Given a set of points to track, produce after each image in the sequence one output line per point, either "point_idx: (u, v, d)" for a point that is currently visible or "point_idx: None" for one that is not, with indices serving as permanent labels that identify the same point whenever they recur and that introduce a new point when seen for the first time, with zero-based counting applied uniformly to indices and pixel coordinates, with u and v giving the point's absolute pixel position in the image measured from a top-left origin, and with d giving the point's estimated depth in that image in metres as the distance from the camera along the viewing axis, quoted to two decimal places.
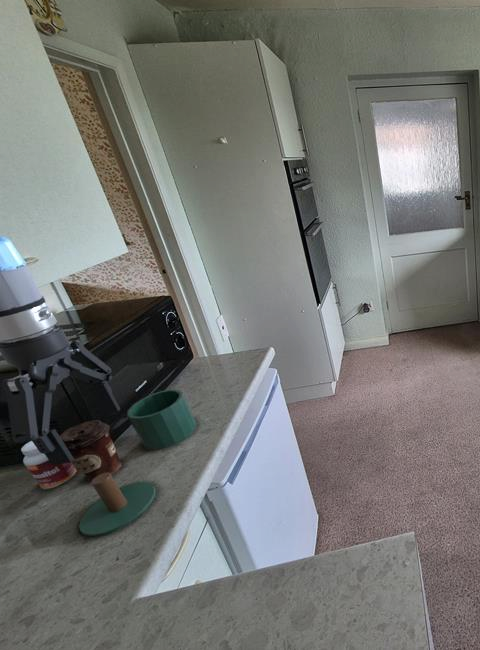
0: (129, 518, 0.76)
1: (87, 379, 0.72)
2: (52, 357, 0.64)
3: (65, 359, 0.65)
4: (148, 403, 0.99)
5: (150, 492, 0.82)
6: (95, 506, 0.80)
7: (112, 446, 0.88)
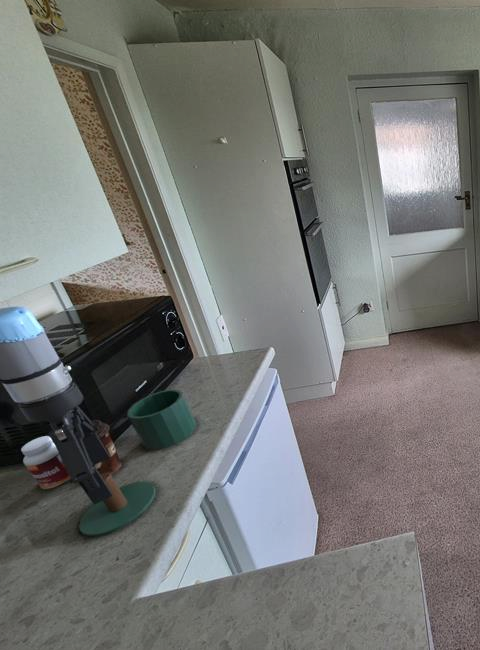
0: (129, 518, 0.76)
1: None
2: (68, 410, 0.70)
3: (77, 410, 0.72)
4: (148, 403, 0.99)
5: (150, 492, 0.82)
6: (95, 506, 0.80)
7: (112, 446, 0.88)
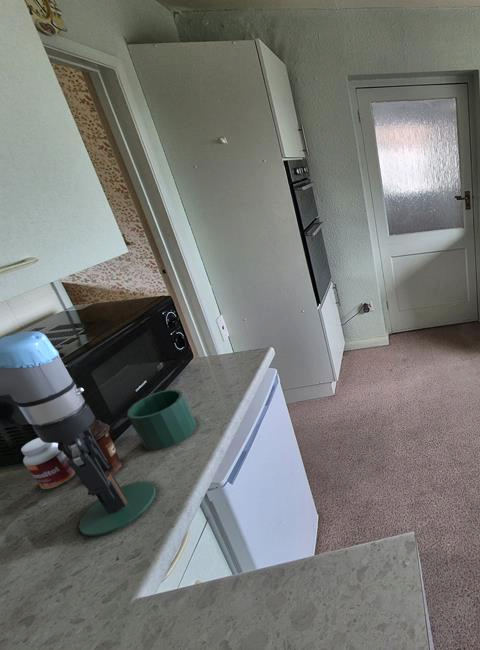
0: (129, 518, 0.76)
1: None
2: None
3: (89, 430, 0.74)
4: (148, 403, 0.99)
5: (150, 492, 0.82)
6: (95, 506, 0.80)
7: (112, 446, 0.88)
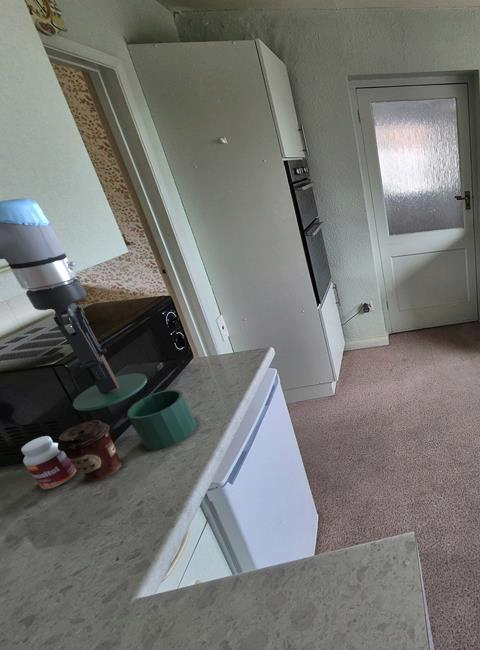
0: (120, 397, 0.79)
1: None
2: (72, 305, 0.75)
3: (81, 308, 0.76)
4: (148, 403, 0.99)
5: (142, 380, 0.84)
6: (89, 390, 0.82)
7: (112, 446, 0.88)
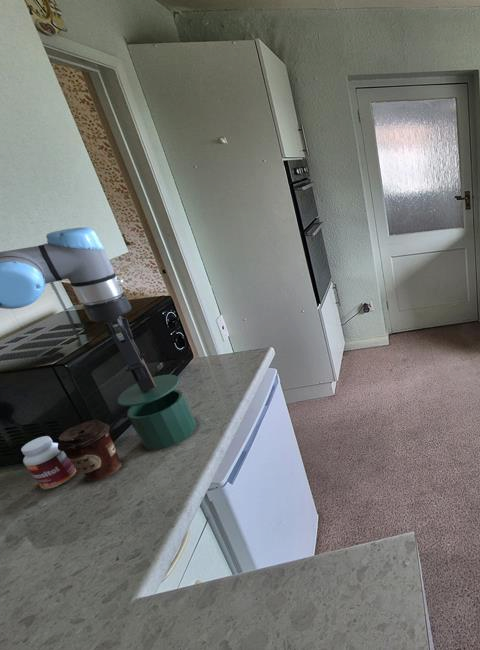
0: (159, 395, 0.91)
1: None
2: (120, 317, 0.87)
3: None
4: (148, 403, 0.99)
5: (175, 380, 0.97)
6: (129, 389, 0.95)
7: (112, 446, 0.88)
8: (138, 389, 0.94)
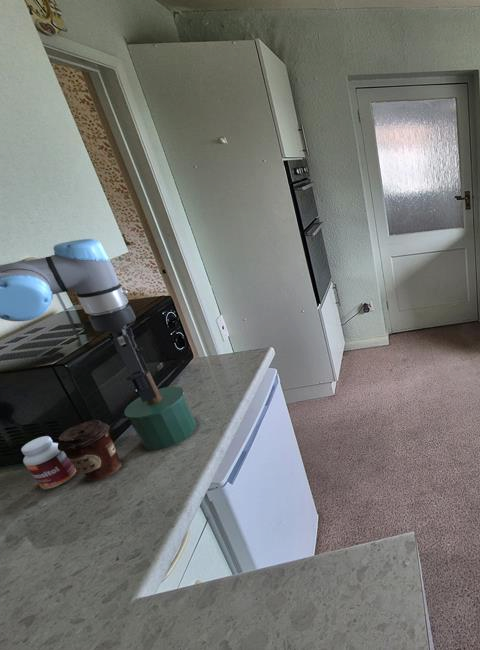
0: (165, 407, 0.93)
1: None
2: (124, 326, 0.88)
3: (130, 328, 0.90)
4: None
5: (180, 392, 0.98)
6: (135, 401, 0.96)
7: (112, 446, 0.88)
8: None
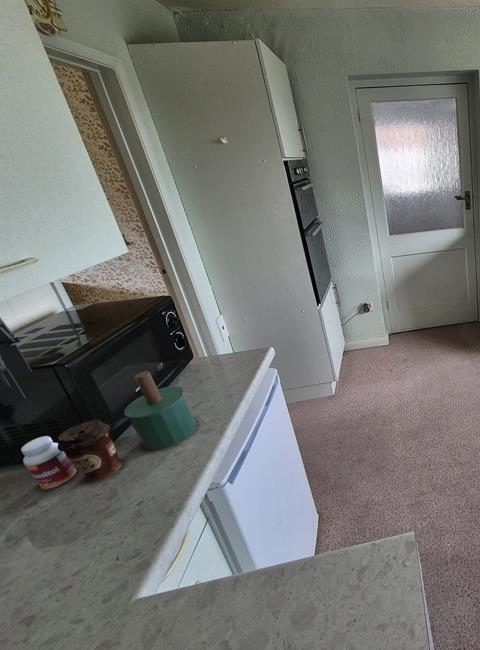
0: (165, 407, 0.93)
1: None
2: None
3: None
4: None
5: (180, 392, 0.98)
6: (135, 401, 0.96)
7: (112, 446, 0.88)
8: (144, 401, 0.96)
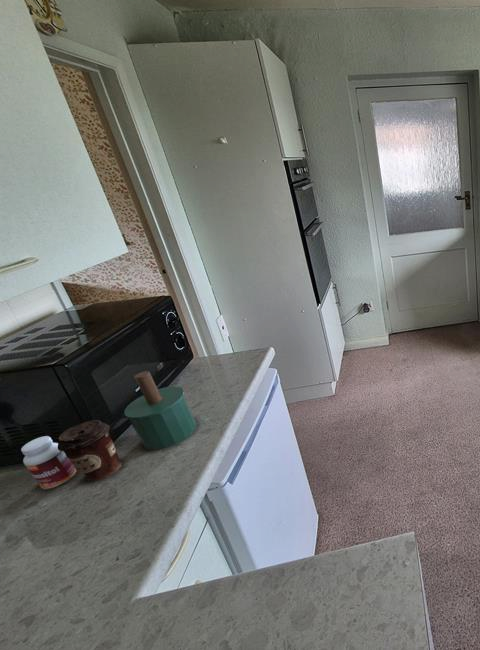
0: (165, 407, 0.93)
1: None
2: None
3: None
4: None
5: (180, 392, 0.98)
6: (135, 401, 0.96)
7: (112, 446, 0.88)
8: (144, 401, 0.96)
